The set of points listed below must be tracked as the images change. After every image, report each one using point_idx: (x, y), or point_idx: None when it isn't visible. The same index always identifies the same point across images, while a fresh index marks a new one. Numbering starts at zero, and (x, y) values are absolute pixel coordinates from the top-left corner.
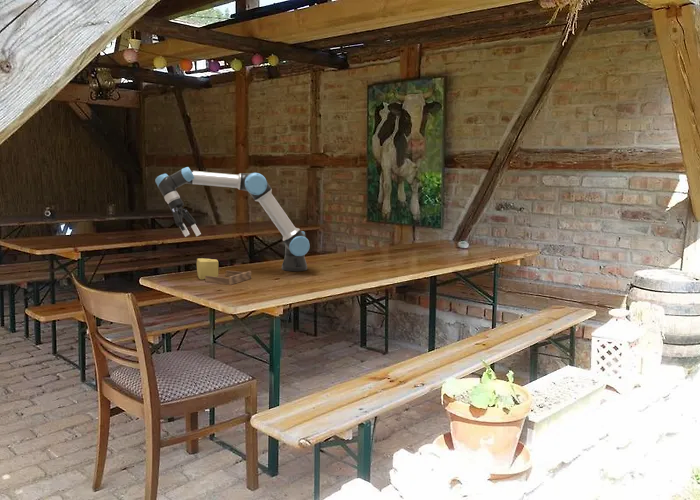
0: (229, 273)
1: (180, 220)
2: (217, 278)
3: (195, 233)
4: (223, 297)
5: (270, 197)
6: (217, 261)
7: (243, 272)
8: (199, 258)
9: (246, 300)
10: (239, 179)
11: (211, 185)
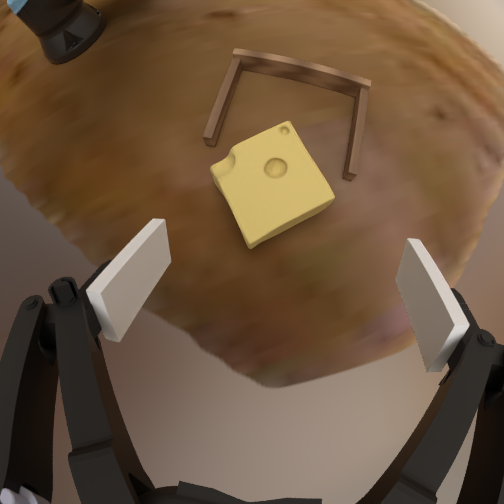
0: (218, 125)
1: (485, 378)
2: (363, 128)
3: (158, 274)
4: (485, 101)
5: None
6: (290, 123)
7: (231, 73)
8: (246, 231)
9: (478, 62)
10: None
11: None
